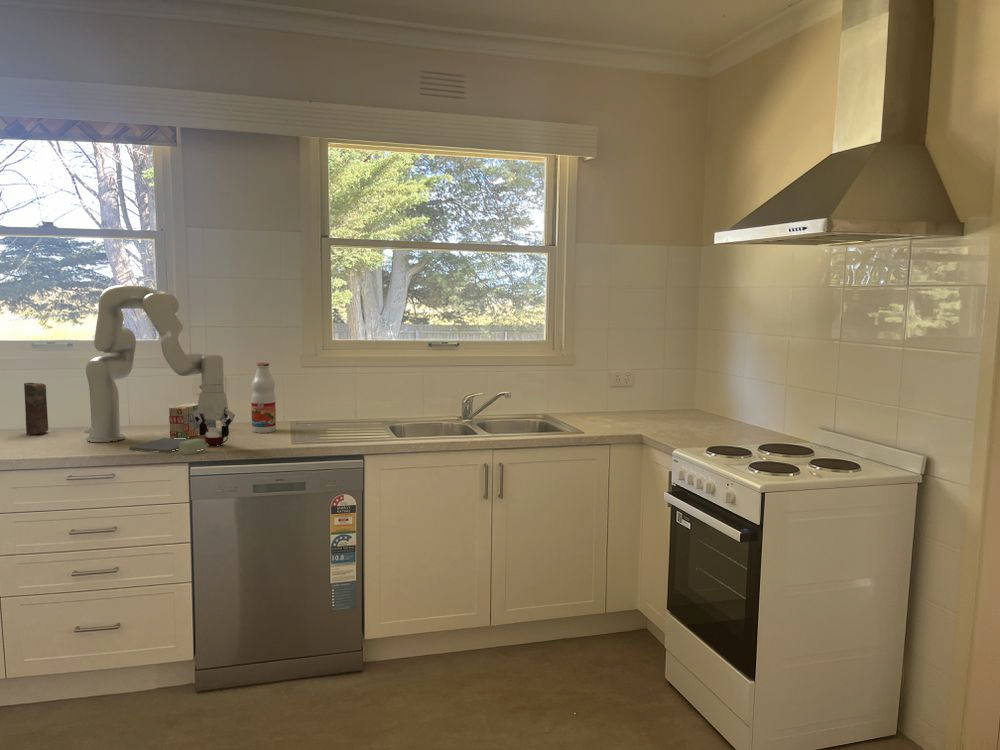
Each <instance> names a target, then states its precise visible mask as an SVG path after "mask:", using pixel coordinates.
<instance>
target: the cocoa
mask: <svg viewBox="0 0 1000 750" xmlns="http://www.w3.org/2000/svg"><path fill="white" fill-rule="evenodd" d="M200 417H201V419H202V421H203V424H204V426H205V428H206V431H207V432H206V434H205V435H206V442H205V443H206V444H207V445H208V446H209V447H211V446H217V445H220V446H221V444H222V445H223V444H224V443H226V442H227V441H228V440H229V437H228V436H225V437H222V429H219V428H217V427H216V428H210V429H207V427H206V424H205V422H204V420H203V417H202V415H201V414H200ZM225 438H226V439H225ZM224 439H225V440H224ZM217 447H218V446H217Z"/></svg>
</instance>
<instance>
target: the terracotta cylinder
mask: <svg viewBox="0 0 1000 750" xmlns="http://www.w3.org/2000/svg"><path fill="white" fill-rule="evenodd" d="M210 428H212V427H207V429H210ZM198 434H199V435H198V439H205V441H206V435H200V432H199V428H198Z"/></svg>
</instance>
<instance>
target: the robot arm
mask: <svg viewBox="0 0 1000 750" xmlns="http://www.w3.org/2000/svg"><path fill="white" fill-rule="evenodd" d="M97 308H98V309H97V310H98V312H97V318H96V325H95V332H94V338H93V339H94V340H93V342H94V343H93V345H94V346H93V347H94V348H95V349H96V351H97V352H99V353H103V354H109V355H99V356H96V357H93V358H91V359H90V360H89V361H88V362H87V364H86V366H85V374H86V378H87V382H88V383H87V384H88V389H89V404H90V405H89V406H90V407H89V408H90V424H91V425H90V426H91V427H87V428H86V429H84V430H83V431H84V432H83V433H84V434H89V435H88V436H87V437H86V441H87V442H89V441H90V442H91V443H110V441H113V442H118V440H119V441H122V440H124V439H125V438H126V435H125V434H123V433H121V422H120V396H119V395H120V394H119V390H118V389H119V388H118V386H117V384H116V382H115V381H116V380H117V381H118V380H122V379H125V378H127V377H128V376H129V375H131V373H132V369H133V366H134V365H133V364H134V360H135V359H134V358H135V355H136V353H135V352H136V347H137V346H136V344H137V339H136V336H135V333H134V332H133V331H132V329H130V328H128V327H125V326H123V325H124V313H123V311H122V309H123V310H124V309H132V310H133V309H141V310H143V312H145V314H146V316H147V318H148V319H149V320H150V322H151V323H152V325H153V327H154V328H155V330H156V331H157V333H158V335H159V337H160V344H161V345H160V346H161V352H162V355H163V357H164V359H165V361H166V362H167V364H168V365H169V367H170V368H171V369H172V371H173V373H175V374H177V375H179V376H182V377H186V376H187V377H188V376H192V375H198V374H199V375H200V374H201V384H199V389H200V390H201V392H199V395H198V400H197V401H198V402H197V403H198V409H197V410H195V411H194V412H193V416H194V417H195V420H196V421H197V423H198V424H199V432H200V435H205V434H206V432H207V431H206V428H205V426H204V424H203V421H202V419H201V417H200V414H201V415H202V417H203V420H204V422H206V420H213V421H216V422H217V421H218V422H220V423H221V425H222V426H221V427H220V429H221V431H222V437H224V438H226V437H225V436H227V437H228V436H229V431H230V429H229V428H230V427H229V426H230V425H231V423H233V421H234V418H235V416H236V414H235V413H234V412H233V411H231V410H229V407H228V405H229V403H228V398H227V394H226V392H225V382H224V377H225V376H224V358H223V356H221V355H219V354H203V353H189V354H186V353H185V352H184V350H183V348H182V346H181V345H180V342H179V335H180V333H181V332H182V331H183V329H184V326H183V324H182V321H180V318H178V316H177V315H176V313H177V312H179V311H178V310H179V308H180V304H179V301H178V299H177V298H176V297H175V296H174V295H173V294H171V293H169V292H167V291H162V290H159V289H154V288H151V287H148V286H144V285H142V286H141V285H127V284H125V285H123V284H122V285H121V284H120V285H113V286H110V287H108V288H105V289H104V290H103V291H102V292H101V293H100V296H99V298H98V307H97ZM205 424H206V423H205Z"/></svg>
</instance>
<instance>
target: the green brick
mask: <svg viewBox="0 0 1000 750" xmlns="http://www.w3.org/2000/svg"><path fill="white" fill-rule="evenodd" d="M204 448H205V449H206V442H205V439H199V438H198V437H197V438H196V437H195V438H192V439H187V441H183V442H179V450H178V451H179V454H185V455H191V454H194V453H197V452H196V451H197V450H201V449H204Z"/></svg>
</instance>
